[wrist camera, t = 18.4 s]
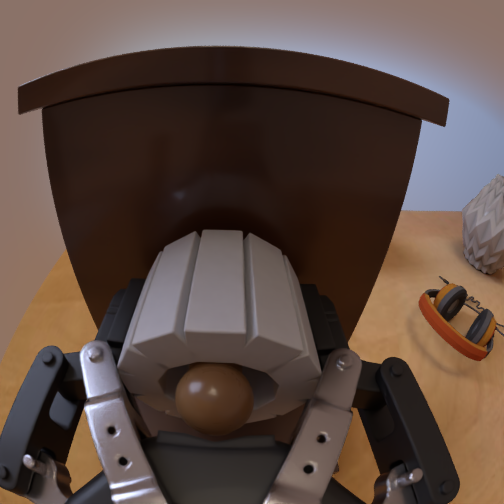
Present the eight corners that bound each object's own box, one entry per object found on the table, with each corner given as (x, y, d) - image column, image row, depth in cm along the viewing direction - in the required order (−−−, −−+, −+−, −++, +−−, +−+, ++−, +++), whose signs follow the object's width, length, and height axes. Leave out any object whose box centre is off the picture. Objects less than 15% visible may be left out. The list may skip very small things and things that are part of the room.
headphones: (522, 320, 23) (514, 365, 13) (503, 347, 25) (478, 403, 15) (453, 261, 36) (403, 264, 25) (439, 287, 38) (381, 304, 28)
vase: (456, 235, 50) (479, 163, 40) (507, 269, 40) (537, 196, 30) (440, 255, 42) (471, 162, 32) (504, 299, 31) (546, 207, 21)
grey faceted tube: (146, 417, 10) (88, 320, 6) (161, 336, 14) (138, 227, 10) (297, 422, 10) (348, 329, 6) (284, 340, 14) (309, 232, 10)
